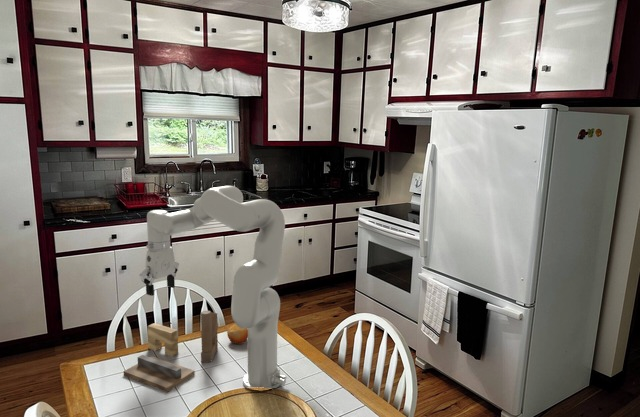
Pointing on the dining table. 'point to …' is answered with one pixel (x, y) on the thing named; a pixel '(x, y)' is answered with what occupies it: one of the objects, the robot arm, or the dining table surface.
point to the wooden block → (208, 335)
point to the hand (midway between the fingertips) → (160, 290)
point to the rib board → (158, 373)
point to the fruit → (237, 334)
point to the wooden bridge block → (163, 338)
